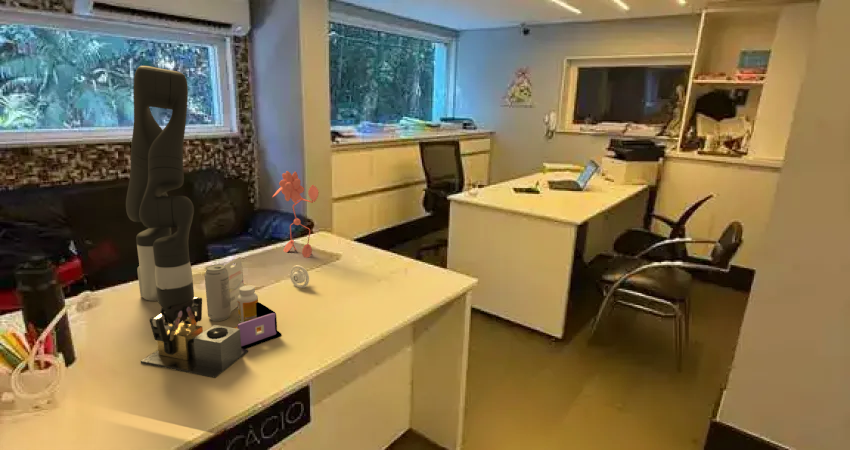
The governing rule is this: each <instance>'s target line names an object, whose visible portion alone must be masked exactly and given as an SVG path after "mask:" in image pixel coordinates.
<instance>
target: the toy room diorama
mask: <svg viewBox="0 0 850 450" xmlns="http://www.w3.org/2000/svg"><path fill="white" fill-rule="evenodd" d="M256 315H257V318H255V319H252V320H249V321H246V322H242V323H240V322H239V323H238V324H237V326H235V327H234V328H237V329H240V337H241V348H242V349H250V348H252V347H256V346H258V345H261V344H264V343H266V342H270V341H273V340H275V339H277V338H281V337H282V333H281V332H280V331H278V324H277V323H278V322H277V321H278V320H277V313H276V312H275V310H273V309H271V308H270V307H267V306H266V305H264V303H261V302H259V301H258V303H256Z"/></svg>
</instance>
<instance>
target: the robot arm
mask: <svg viewBox="0 0 850 450" xmlns="http://www.w3.org/2000/svg"><path fill="white" fill-rule="evenodd" d="M188 88H189V87H188V80H187V78H186V75H185V74H184V73H182V72H180V71H175V70H171V69H165V68H160V67H154V66H149V65H139V66H138V67H137V68H136V70H135V74H134V76H133V127H132V136H131V138H132V139H131V145H130V146H131V147H130V172H129V173H130V174H129V181H128V187H127V192H126V198H125V209H126V214H127V217H128V218H129V220H130V221H132V222H135V223H142V225H143V226H144V227H146V229H145V230H142V231H140V232H138V233H137V235H136V237H135V240H136V248H137V256H138V257H137V258H138V263H139V264H138V265H139V266H138V267H137V268H136V269H137V278H138V280H137V281H138V286H139V294H140V295H139V296H140V298H141V297H142V298H143V299H144V300H146V301H153V302H154V301H156V302H157V303H158V304H159V305H160V308H161V309H160V314H158V315H157V316H155V317H150V318H149V325H150V328H151V332H152V335H153V338H154V341H162V342H164V351H165V353H167V354H171V355H173V354H175V353H176V349H175V339H174V335H175V331H176V330H177V329H178V326H179V323H186V324H191V325H197V326H198V324H197V323H198V322H201V321H202V319H203V318H202V317H203V316H202V315H203V314H202V313H203V298H202V297H200V296H199V297H198V296H195V292H194V291H195V290H194V289H195V288H194V279H193V270H192V266H191V260H190V251H189V237H190V231H191V226H192V223H193V219H194V215H195V214H194V213H195V206H194V204H193V202H192V200H191V199H190V197H188V196H185V195H168V192H170V191H175V190H177V189H180V188H181V187H182V186H183V185H184V182H185V181H184V180H185V177H184V176H185V175H184V140H185V132H186V123H187V113H188V111H187V110H188V96H189V95H188V94H189V90H188ZM151 108H158V109H165V110H171V111H172V112H171V116H170V119H169V121H168V122H167V124H166V125H165V127H164V128H162V127H161V126H160V125H159V123H158V122H157V121H156V119H155V117H154V116H153V114H152V112H151ZM172 228H177V230H176V231H175V232H174V233H173V234H172ZM169 324H173V326H169ZM168 330H170V332H169V335H167V333H168Z"/></svg>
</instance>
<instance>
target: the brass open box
mask: <svg viewBox="0 0 850 450" xmlns="http://www.w3.org/2000/svg"><path fill="white" fill-rule="evenodd" d="M168 325H169V326H173V324H169V323H168ZM203 329H204V328H203V326H201V325H198V324H197V325H191V324H186V323H184V322H181V323H179V326H178V329H177V330H176V331H175V335H174V339H175V349H176V353H175V354H173V355H171V354H167V353H165V351H164V342H162V341H157V351H158V353H159V355H163V356H168V357H173V358H178V359H183V360H188V359H189V352H188V341H189V340H191V339H193V338H194V337H196V336H198V335H199V334H201V333H202V332H204V330H203ZM169 332H170V330H168V333H167V335H169Z"/></svg>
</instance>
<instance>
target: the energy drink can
mask: <svg viewBox="0 0 850 450" xmlns="http://www.w3.org/2000/svg"><path fill="white" fill-rule="evenodd" d="M225 265H226V264H211V265H209V266H207V267H206V270H205V272H204V284H205V293H206V294H205V295H206V307H207V317H208V318H209V319H210V320H211V321H213V322H219V321H220V322H221V321H225V320H227V319H229V318H230V316H231V314H232V311H231V304H230V290H229V276H228V271H227V269H226V268H225Z"/></svg>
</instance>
